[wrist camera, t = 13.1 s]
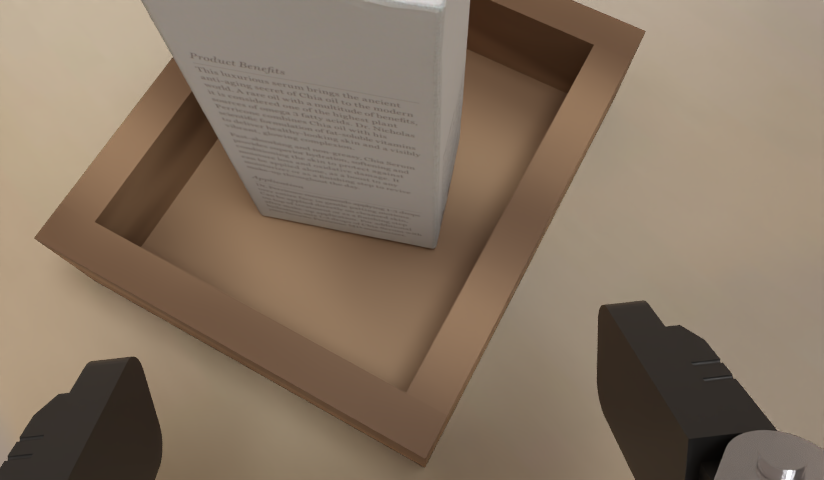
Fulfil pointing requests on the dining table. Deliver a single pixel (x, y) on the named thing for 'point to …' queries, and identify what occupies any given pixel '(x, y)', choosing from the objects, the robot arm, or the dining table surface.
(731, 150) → the dining table surface
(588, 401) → the dining table surface
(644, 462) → the robot arm
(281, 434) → the dining table surface
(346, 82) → the skincare box
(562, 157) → the tray
